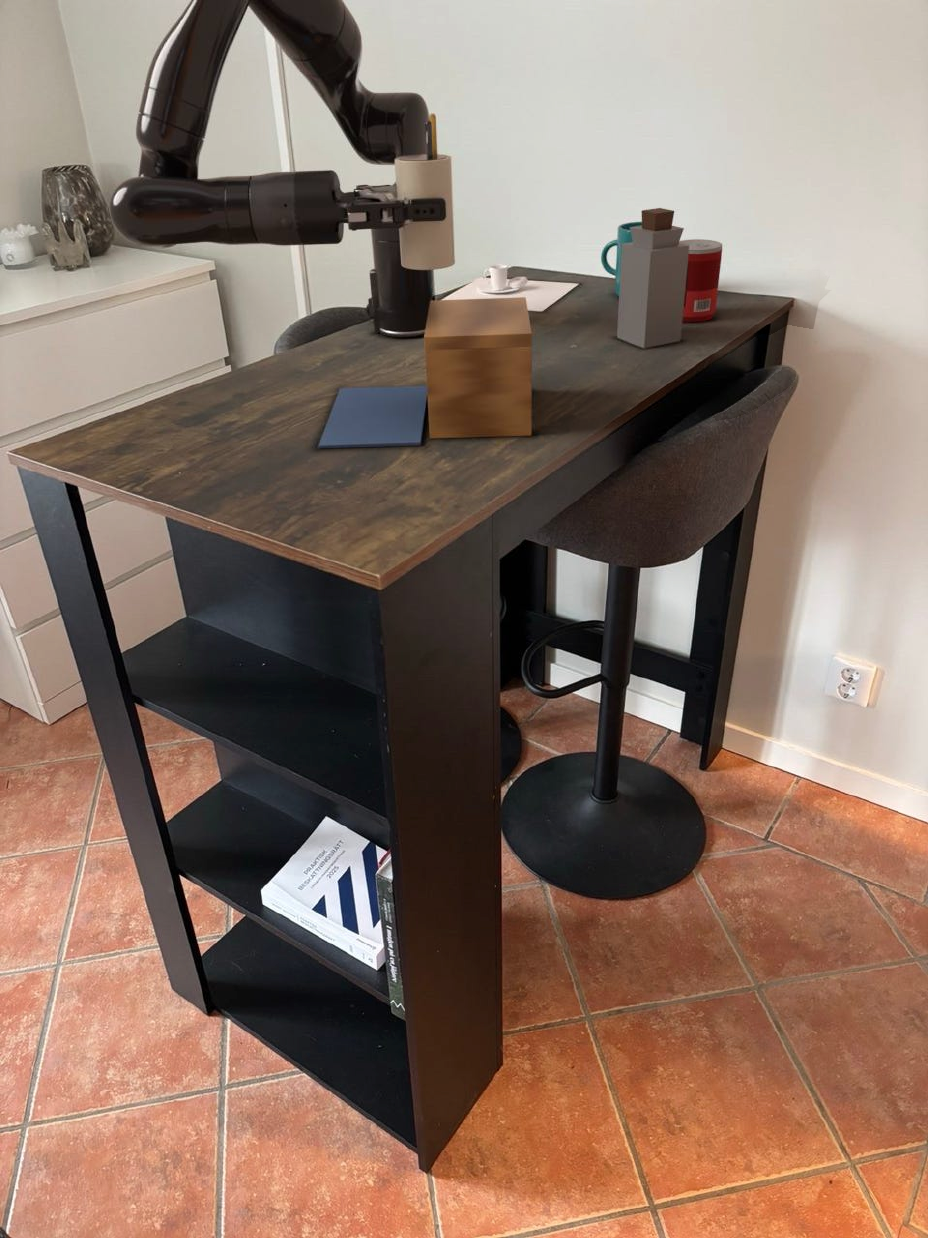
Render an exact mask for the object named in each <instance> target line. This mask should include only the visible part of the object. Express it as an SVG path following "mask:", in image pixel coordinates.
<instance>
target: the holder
mask: <svg viewBox="0 0 928 1238" xmlns="http://www.w3.org/2000/svg"><path fill="white" fill-rule="evenodd" d="M429 115H430V116H429V120H427V121H426V122H425V132H426V153H427V154H420V155H409V156H402V157H398V158H395V165H394V173H395V175H394V176H395V182H396V190H397V198H402V197H407V198H409V199H410V203H411V199H420V198H443V199H445V201H446V218H445V220H443V221H422V222H412V219H411V224H408V225H404V227H401V228H399V236H400V251H401V265H402V266H403V267H405V268H408V269H414V270H434V271H435V270H441V269H446V268H450V267H452V266H454V265H455V264H456V245H455V215H454V214H455V213H454V188H453V159H452V158H453V157H452V156H451V155H448V154H439V153H438V136H437V135H438V134H437V116H436V114H435V113H429Z"/></svg>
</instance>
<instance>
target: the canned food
mask: <svg viewBox="0 0 928 1238" xmlns="http://www.w3.org/2000/svg"><path fill="white" fill-rule="evenodd" d="M679 243H682V244H686V245H689V254H688V265H687V276H686V287H685V297H684V308H683V319H682V323H683V322H684V323H700V322H705V321H709V320H711V319H712V318H714V315H715V313H716V311H717V309H716V308H717V302H718V301H717V300H718V291H719V283H720V274H721V266H722V256H723V243H721V242H720V241H718V240H712V239H699V238H698V239H697V238H695V239H693V238H692V239H684V240H680V241H679Z"/></svg>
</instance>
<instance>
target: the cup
mask: <svg viewBox="0 0 928 1238" xmlns="http://www.w3.org/2000/svg"><path fill="white" fill-rule="evenodd" d="M635 226H642V221H632V222H626V223H622V224H619V225H618V227H617V235H616V236H617V237H616V239H613V240H611V241H609V242H608V243H607V244H605V246H603V249H602V251H601V254H600V261H601V264H602V267H603V269H604V270H605V271H606V272H607V273H608V274H609V275H612V276H614V293H615V295H616V296H617V297H619V291H620V273H621V255H622V244H624V243H631V242H633V241H632V236H631V231H630V227H635ZM613 247H616V256H615V268H613V267H612V266H611V265H610V263H609V262H608V253H609V251H610V250H611V249H612V248H613Z"/></svg>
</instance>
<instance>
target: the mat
mask: <svg viewBox="0 0 928 1238" xmlns="http://www.w3.org/2000/svg"><path fill="white" fill-rule="evenodd" d="M427 405H428V395H427V384H426V385H400V386H371V387H370V386H368V387H367V386H366V387H340V388H339V391H338V392H337V396H336V398H335V401H334V403H333V406H332V409H331V411H330V414H329V417H328V419H327V421H326V425H325V426H324V429H323V432H322V435H321V437H320V440H319V443H318V446H317V447H318V449H345V448H346V449H348V448H349V449H351V448H377V447H378V448H379V447H381V448H382V447H410V446H411V447H413V446H416V447H417V446H422V440H423V434H424V433H423V432H424V425H425V417H426V410H427Z"/></svg>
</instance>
